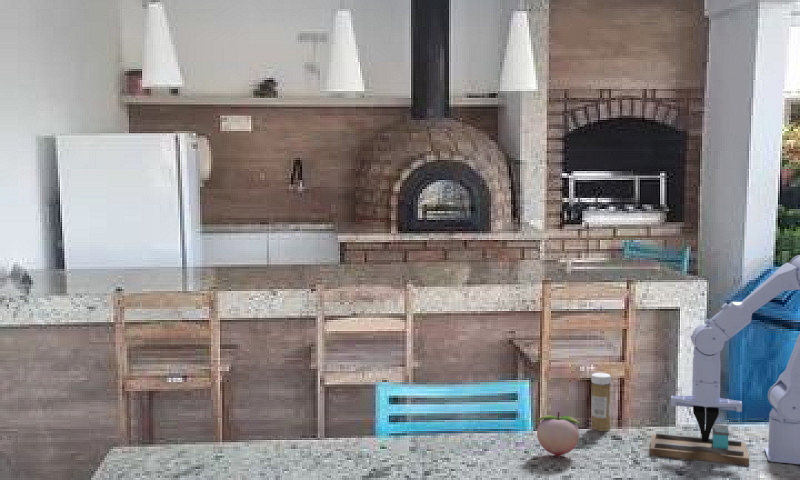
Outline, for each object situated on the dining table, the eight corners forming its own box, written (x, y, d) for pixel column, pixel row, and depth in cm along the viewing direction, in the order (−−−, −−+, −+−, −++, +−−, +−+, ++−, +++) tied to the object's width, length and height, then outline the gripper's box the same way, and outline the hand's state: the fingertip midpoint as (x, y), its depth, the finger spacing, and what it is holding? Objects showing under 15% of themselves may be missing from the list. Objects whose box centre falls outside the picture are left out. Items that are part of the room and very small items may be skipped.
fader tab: (727, 443, 176) (727, 425, 176) (728, 451, 171) (729, 433, 171) (711, 441, 177) (712, 424, 177) (712, 449, 172) (713, 431, 172)
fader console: (745, 449, 177) (745, 439, 177) (749, 465, 168) (749, 454, 168) (651, 440, 184) (651, 430, 184) (650, 455, 174) (650, 444, 174)
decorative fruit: (539, 463, 170) (540, 418, 169) (534, 450, 178) (534, 407, 177) (583, 463, 170) (584, 418, 169) (576, 450, 178) (576, 406, 177)
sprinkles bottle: (613, 428, 192) (614, 374, 191) (603, 433, 189) (604, 378, 188) (597, 424, 196) (598, 371, 195) (587, 428, 193) (587, 374, 191)
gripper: (740, 377, 175) (739, 437, 176) (671, 373, 180) (670, 431, 181) (743, 386, 169) (741, 448, 170) (671, 380, 173) (670, 441, 175)
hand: (705, 440), depth 175 cm, fingers closed
